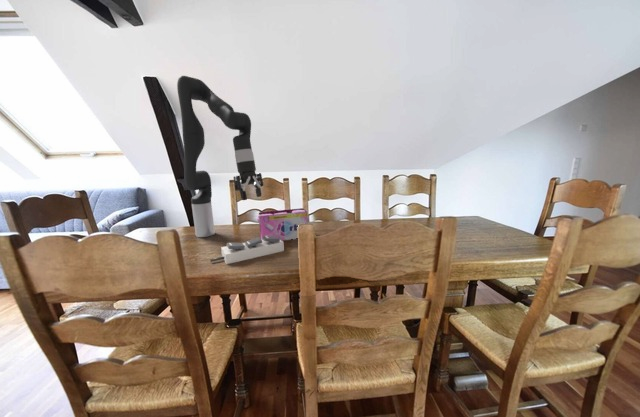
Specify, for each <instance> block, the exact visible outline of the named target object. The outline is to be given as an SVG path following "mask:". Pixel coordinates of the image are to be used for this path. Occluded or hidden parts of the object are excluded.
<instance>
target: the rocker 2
mask: <svg viewBox="0 0 640 417" xmlns="http://www.w3.org/2000/svg"><path fill="white" fill-rule="evenodd" d="M244 243H245V245H246V246H247V247H248V248H250V247H252V246H255V245H257V244H260V243H262V240H261V237H259V236H256V237H254V238H251V239H249V240H246V241H245V242H244Z"/></svg>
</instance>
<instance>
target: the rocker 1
mask: <svg viewBox="0 0 640 417" xmlns="http://www.w3.org/2000/svg"><path fill="white" fill-rule="evenodd" d="M243 243H244V242H226V246H227V247H228V249H244V248H245V246H244V245H243Z"/></svg>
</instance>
